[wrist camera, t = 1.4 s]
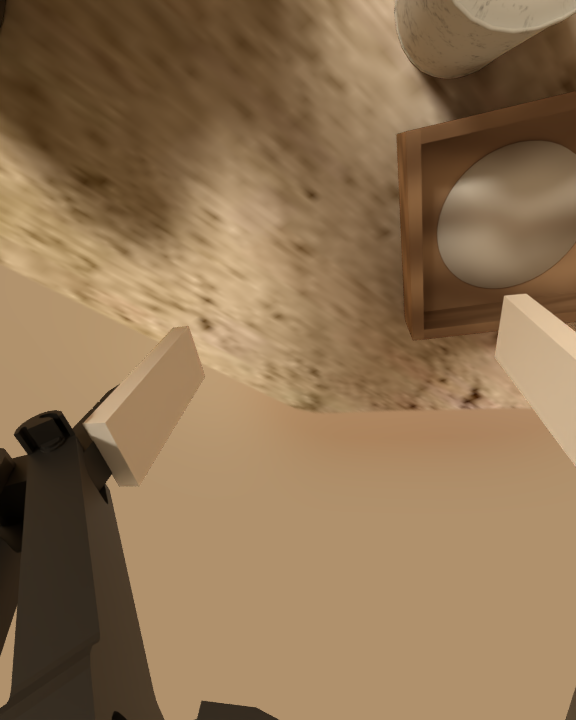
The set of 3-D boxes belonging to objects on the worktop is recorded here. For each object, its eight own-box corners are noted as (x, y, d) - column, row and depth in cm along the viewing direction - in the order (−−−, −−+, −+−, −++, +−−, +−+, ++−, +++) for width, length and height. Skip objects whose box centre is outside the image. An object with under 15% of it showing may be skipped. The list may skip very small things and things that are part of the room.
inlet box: (396, 134, 29) (406, 131, 25) (721, 56, 24) (802, 36, 20) (404, 319, 37) (412, 340, 33) (649, 287, 33) (695, 307, 28)
